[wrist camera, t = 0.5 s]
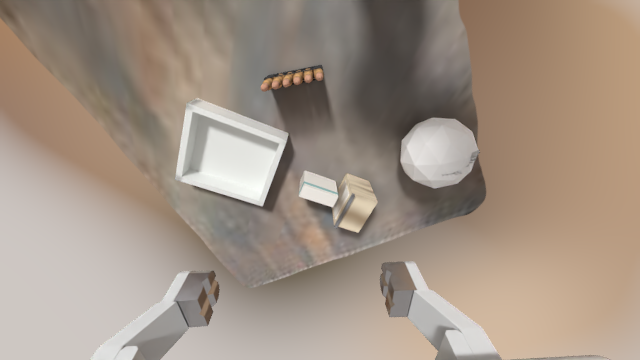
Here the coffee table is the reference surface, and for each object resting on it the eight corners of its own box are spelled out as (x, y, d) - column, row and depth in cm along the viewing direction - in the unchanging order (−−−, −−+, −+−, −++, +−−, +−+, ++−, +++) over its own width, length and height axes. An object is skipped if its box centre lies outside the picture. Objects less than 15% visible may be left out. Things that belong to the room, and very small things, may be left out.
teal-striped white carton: (304, 169, 57) (303, 184, 51) (335, 181, 59) (338, 196, 52) (299, 180, 58) (298, 196, 52) (330, 191, 60) (332, 207, 54)
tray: (197, 98, 48) (186, 102, 44) (288, 133, 52) (286, 140, 48) (184, 169, 56) (175, 179, 52) (265, 195, 60) (262, 206, 56)
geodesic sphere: (466, 85, 43) (456, 139, 36) (500, 139, 48) (497, 197, 41) (396, 118, 55) (377, 164, 48) (429, 159, 60) (417, 206, 53)
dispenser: (345, 172, 57) (351, 195, 49) (368, 181, 59) (378, 204, 50) (330, 202, 61) (333, 227, 53) (352, 209, 63) (358, 235, 54)
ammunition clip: (269, 85, 48) (258, 96, 37) (267, 75, 47) (254, 84, 36) (323, 75, 47) (327, 83, 36) (321, 64, 46) (325, 70, 36)
